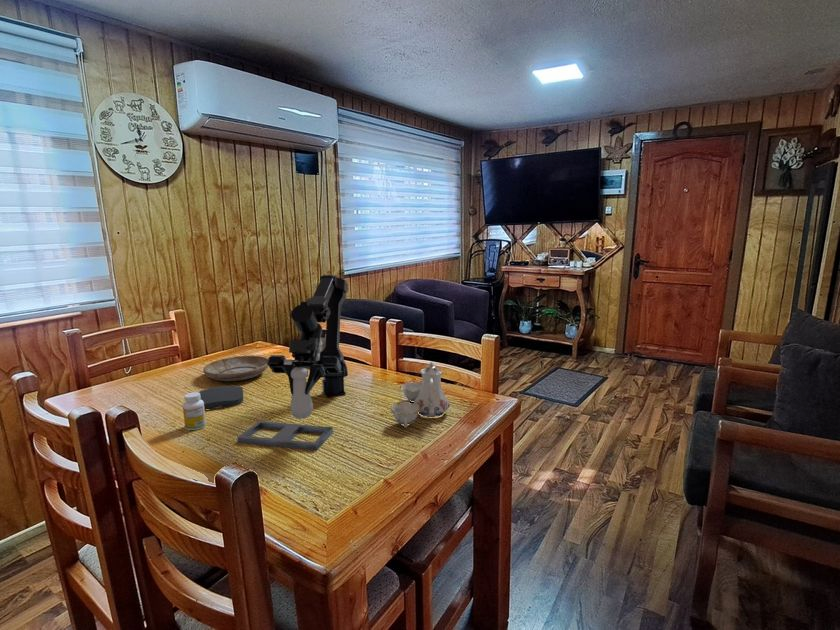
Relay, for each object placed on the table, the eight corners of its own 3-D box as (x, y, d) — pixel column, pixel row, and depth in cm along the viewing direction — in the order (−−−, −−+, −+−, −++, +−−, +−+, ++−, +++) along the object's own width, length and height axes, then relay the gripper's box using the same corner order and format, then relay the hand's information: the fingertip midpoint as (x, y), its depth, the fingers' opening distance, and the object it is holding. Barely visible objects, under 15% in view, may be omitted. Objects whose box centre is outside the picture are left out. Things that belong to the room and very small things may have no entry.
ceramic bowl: (247, 363, 188) (246, 352, 187) (282, 373, 174) (281, 361, 173) (192, 378, 170) (190, 366, 169) (227, 391, 156) (226, 377, 155)
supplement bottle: (190, 423, 130) (186, 391, 129) (209, 422, 131) (205, 390, 129) (182, 431, 125) (178, 398, 123) (202, 430, 126) (198, 397, 124)
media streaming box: (197, 396, 152) (196, 388, 151) (243, 391, 157) (242, 382, 156) (192, 413, 138) (191, 404, 138) (243, 406, 143) (242, 397, 143)
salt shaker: (312, 419, 116) (309, 371, 114) (289, 421, 116) (285, 372, 113) (314, 410, 122) (311, 364, 119) (292, 411, 121) (289, 365, 119)
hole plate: (237, 442, 118) (237, 437, 118) (259, 425, 128) (259, 420, 128) (316, 450, 114) (316, 445, 113) (332, 432, 124) (332, 427, 123)
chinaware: (399, 400, 151) (393, 352, 148) (449, 395, 150) (444, 347, 147) (391, 439, 123) (384, 381, 120) (452, 433, 122) (446, 375, 119)
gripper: (266, 326, 118) (252, 380, 110) (336, 326, 117) (327, 381, 109) (279, 346, 128) (267, 398, 119) (344, 347, 127) (337, 399, 118)
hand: (299, 394), depth 116 cm, fingers closed on salt shaker, 3 cm apart
